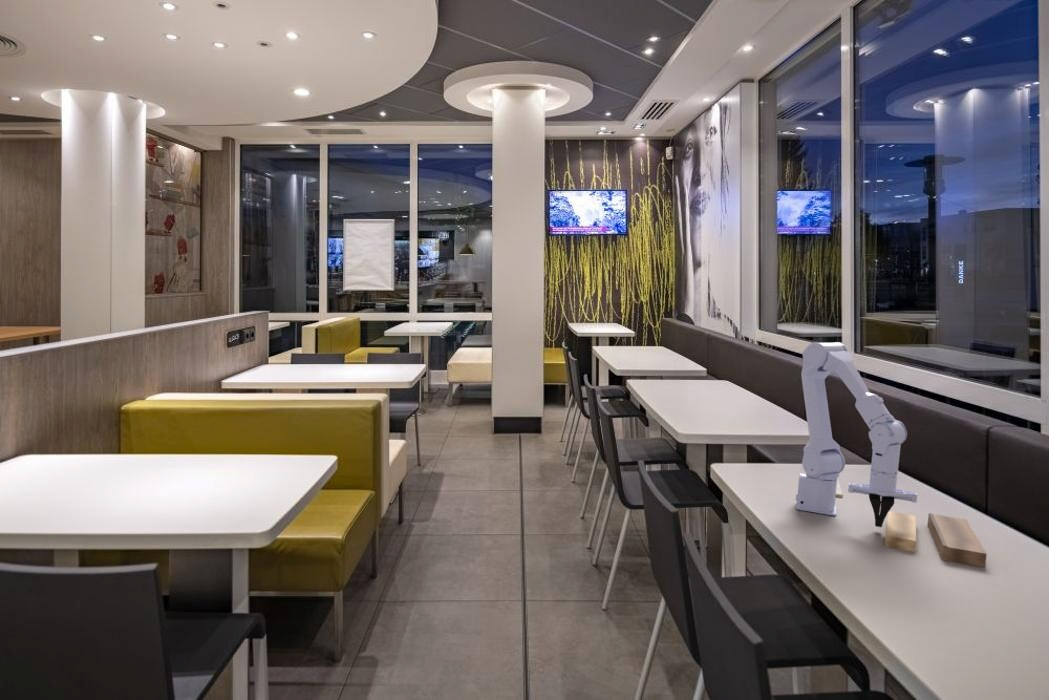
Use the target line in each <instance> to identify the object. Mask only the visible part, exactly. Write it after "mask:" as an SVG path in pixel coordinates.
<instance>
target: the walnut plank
mask: <svg viewBox="0 0 1049 700" xmlns="http://www.w3.org/2000/svg"><path fill="white" fill-rule="evenodd" d="M927 518H928V519H927V528H928V529H929V533H930V535H931V537H932V539H933V542H934V545H935V547H936V549H937V551H938V554H939V557H940V559H941V560H944V561H950V562H953V563H958V564H959V563H960V564H964V565H970V566H976V567H981V568H986V562H987V561H986V560H987V552H986V550H985V549H984V546H983V545H982V544H981V542H980V540H979V539H978V537H977V535H976V534H975V532H974V530H973V528H972V526H971V525H970V523H969V521H968V520H967V519H966V518H959V517H952V516H946V515H941V514H940V515H939V514H934V513H931V512H928V517H927Z"/></svg>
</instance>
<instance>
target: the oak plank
mask: <svg viewBox="0 0 1049 700" xmlns="http://www.w3.org/2000/svg"><path fill="white" fill-rule="evenodd" d="M886 518H887V520H886V530H885V539H884V546H885V547H888V548H893V549H897V550H898V549H899V550H903V551H908V552H914V553H915V552H916V547H917V546H916V545H917V523H916V522H917V521H916V515H914V514H907V513H903V512H902V513H901V512H897V511H892V510H889V512H888V513H887V517H886Z"/></svg>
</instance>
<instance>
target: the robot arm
mask: <svg viewBox="0 0 1049 700" xmlns="http://www.w3.org/2000/svg"><path fill="white" fill-rule="evenodd" d="M802 360H803V364H802V370H801V375H800V376H801V384H802V391H803V399H804V406H805V411H806V413H805V414H806V420H807V429H808V435H809V436H808V437H809V441H808V442H807V443H806V445H805V446H804V447H803V457H802V461H801V463H802V464H801V465H802V468H803V470H804V472H805V473H801V472H800V473H799V476H798V485H797V493H795V495H796V496H795V501H796V508H795V509H796V510H798V511H799V510H800V511H803V512H804V511H805V512H811V513H816V514H817V513H818V514H823V515H829V516H834V517H835V516H837V506H836V498H837V497H836V488H837V477H838V478H839V477H840V473H842V472H843V471H844V469H845V466H846V459H845V457H844V455H843V454H842V452H841V446H840V444H839V443H837V441H836V440H834V439H833V434H832V426H831V419H830V411H829V403H828V397H827V390H826V381H825V380H826V378H827V377H828V376H829V375H830V374H831V373H833V374H836V375H837V376H839V378H840V380H841V381H842V382H843V384H845V386H846V387H847V389H848V390H849V391H850V392H851V394H852V395H853V396H854V398H855V400H856V401H855V403H854V404H855V405H854V406H855V408H856V410H857V411H858V413H859V414H860V416H861V417H862V419H863V421H864V422H865V423H866V425H867V427H868V429H869V431H868V438H869V440H870V442H871V444H872V445H871V449H872V453H871V454H872V455H871V462H870V463H871V465H870V473H869V474H870V475H869V483H868V484H867V483H853V482H848V489H847V492H848V493H849V494H850V493H851V494H854V493H855V494H863V495H868V499H869V502H870V504H871V508H872V512H873V515H874V526H875V527H876V528H877V527H878V528H883V523H884V521H885V519H886V518H887V517H886V516H888V512H889V511H891V509H892V508H893V506H894V505H895V500H901V501H908V502H911V503H915V504H917V502H918V501H917V500H918V494H917V492H913V491H909V490H904V489H899V488H897V481H898V472H899V463H900V457H901V456H900V455H901V445H902V444H903V443H904V442H905V441H906V439H907V436H908V431H907V428H906V427H905V424H904V423H903V422H902V421H900V420H897V419H895V417H894V416H893V415H892V414H891V413H890V411H889V410H888V408H887V407H886V406H885V404H884V399H883V397H881V396H879V395H878V394H875V393H872V392H870V390H869V389H868V386H867V385H866V383H865V382H864V380H863V378H862V376H861V374H860V372H859V371H858V370H857V367H856V366H855V364H854V362H853V355H852V353H851V352H850V351H849V350H848V347H847V346H846V345H845V344H843V343H842V342H838V341H836V342H834V341H833V342H816V341H815V342H810V343H809V345H808V346H806V348H805V349H804V350H803V351H802Z"/></svg>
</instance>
